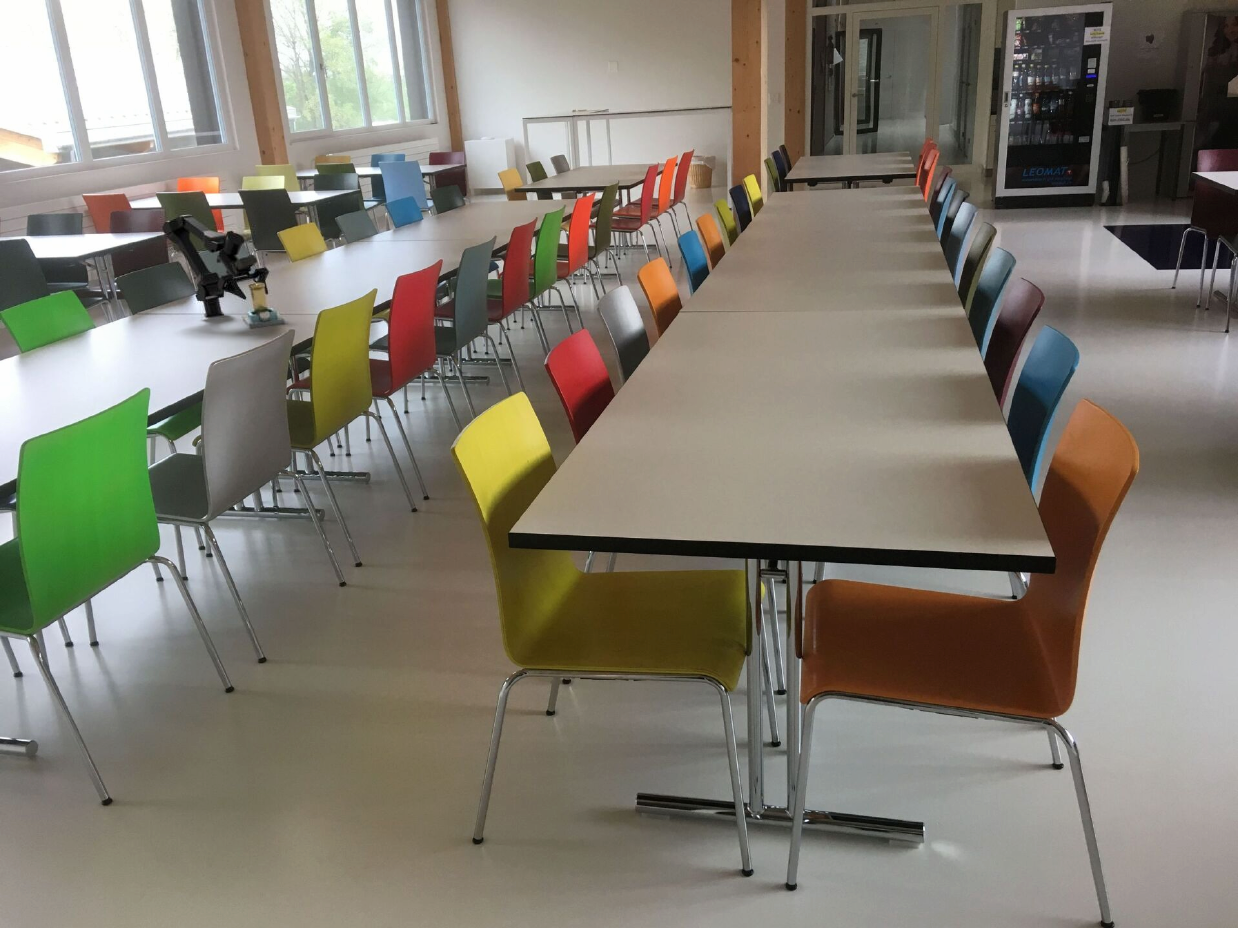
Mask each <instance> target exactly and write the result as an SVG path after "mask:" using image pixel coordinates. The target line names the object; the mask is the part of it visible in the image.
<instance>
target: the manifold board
mask: <svg viewBox="0 0 1238 928" xmlns="http://www.w3.org/2000/svg"><path fill="white" fill-rule="evenodd" d="M268 310H269V312H268V311H265V312H260V314H257V315H255V312H254V310H251V311H246V314H245V315H241V317H242V320H243V322H244V323H245V325H247V327H248V328H249V329H256V328H264V327H270V326H275V325H282V324H285V321H286V320H285V319H284V317H282V316H281V314H279V313H278V311H277V310H275V309H274V308H272V307H268Z"/></svg>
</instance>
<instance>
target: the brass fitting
mask: <svg viewBox="0 0 1238 928" xmlns="http://www.w3.org/2000/svg"><path fill="white" fill-rule="evenodd" d="M264 287H265V285H264V283H256V282H253V283H250V284H248V289H249V290H250V297H251V301H252V306H253V311H254V312H255V315H257V314H260V312H265V311H268V312H269V310H268V309H269V305H268V301H267V295H266V294H265V289H264Z"/></svg>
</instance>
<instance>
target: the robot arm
mask: <svg viewBox="0 0 1238 928" xmlns="http://www.w3.org/2000/svg"><path fill="white" fill-rule="evenodd" d="M161 228H162V232H163V234H164V235H165V236H166V237H167V239H168V240H169V241H171V242H172V243H174V244H176V246H178V248H179V250H180V252H181V253H182V255H183V256H184V258H185V260H186V261H187V263H188V265H189V266H190V268H191V269H192V271H193V274H194V275H195V276H196V286H197V291H196V292H195V294H194V295H195V299H196V300H197V301H198V302H202V303H203V308H204V312H205V313H203V315H204V317H205V318H212V317H214V318H215V317H220V316H224V315H225V313H224V312H223V311H222V306H221V304H220V303H221V302H220V299H221V298H224V297H225V293H230V294H232V295H234V296H236V297H238V298H240V299H242V300H247V295H245V293H244V291H243V290H242V289H241V288H240V286H239V285H238V283H242V282H246V281H252V280H253V283H264V285H265V287H264V289H265V295H266V296H267V295H268V294H269V289H268V286H267V281H266V279H267V278H268V276H269V274H270V270H269V269H268V268H267V267H266V266H262V267H257V268H255V270H254V272H253V273H250V272H251V271H252V268H253V266H255V264H256V263H258V260H257V257H256V256H255V255H254V254H249V255H248V256H245V257H241V258H239V257H238V256H237V255H239V254H240V252H241V250H242V248H243V245H244V243H245V238H244V236H242V235H241V234H239V233H237V232H234V231H233V230H228V231H226V235H225V234H223V233H221V232H218V231H213V230H211V229H210V228H208V227H207V226H206V225H204V224H203V223H201V222H200V221H198V220H197V219H195V217H194V215H192V214H184V215H183V214H182V215H179V216H178V217H176V218H174V219H172V220H167V221H164V223H163V225H162V227H161ZM191 234H192V235H194V236H195V237H196V238H198V239H199V240H200V241H202V243H203V247H204V248H205V249H206V250H207V251H208V252H209V253H211V254H213V253H218V254H217V255H216V263H217V264H220V263H221V264H222V265H223V266H224V267H225V269H226V271H225V273H226V274H223V275H220V276H219V273H217V272H215V271H214V272H212V271H210V270H209V268H208V266H207V265H206V264H205V262H204V259H203V258H202V257H201V255H200V253H199V251H198V250H197V248H196V247H195V245H194V243H193V242H192V240H191Z"/></svg>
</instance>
